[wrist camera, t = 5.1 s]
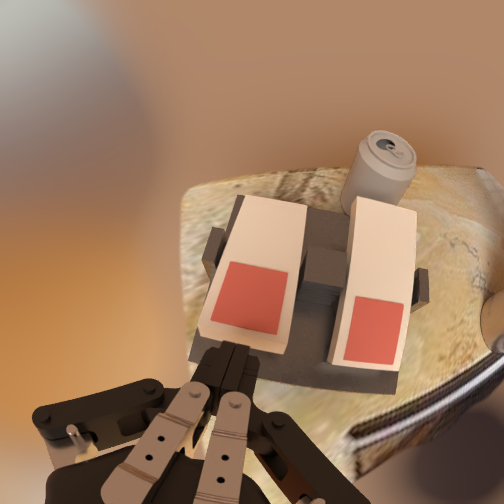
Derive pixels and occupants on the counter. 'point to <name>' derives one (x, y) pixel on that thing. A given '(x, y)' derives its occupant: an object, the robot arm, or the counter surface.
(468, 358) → the counter surface
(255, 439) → the robot arm
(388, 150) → the can
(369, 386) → the switch box
